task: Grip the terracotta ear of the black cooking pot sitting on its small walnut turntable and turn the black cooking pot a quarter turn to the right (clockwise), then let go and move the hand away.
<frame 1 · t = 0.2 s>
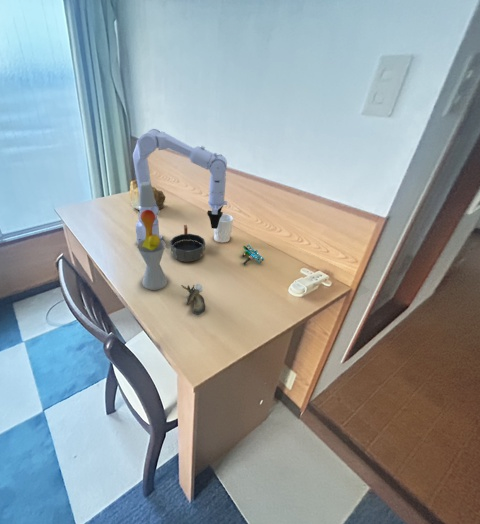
hand: (215, 223, 112), 10 cm above the table, tool pointing down, fingers open, 7 cm apart
rough brown rock: (150, 208, 152), on the table
stick construction toy: (248, 260, 108), on the table
turntable: (187, 255, 112), on the table
lava lamp: (154, 282, 98), on the table
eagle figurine: (193, 304, 88), on the table
white cup: (221, 239, 122), on the table
black cooking pot: (187, 242, 110), point 5 cm above the table, hinge at 0.0°
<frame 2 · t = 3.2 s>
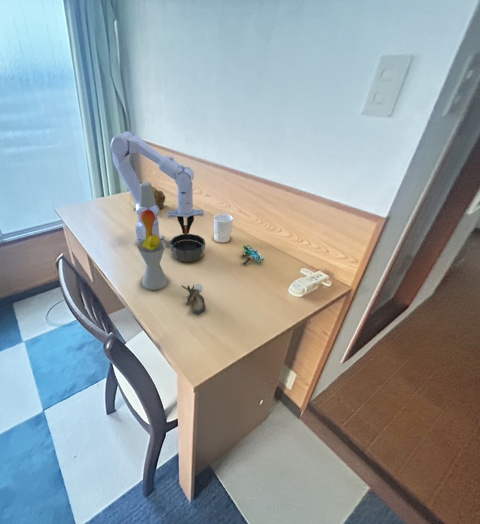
hand: (185, 232, 116), 6 cm above the table, tool pointing down, fingers closed on black cooking pot
black cooking pot: (187, 242, 110), point 5 cm above the table, hinge at 0.0°, touching gripper
everything else where it was.
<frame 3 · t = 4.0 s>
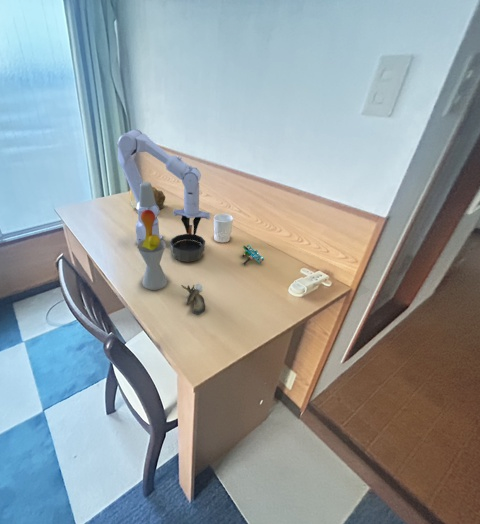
hand: (191, 233, 115), 6 cm above the table, tool pointing down, fingers closed
black cooking pot: (188, 242, 110), point 5 cm above the table, hinge at -14.0°, touching gripper
everything else where it was.
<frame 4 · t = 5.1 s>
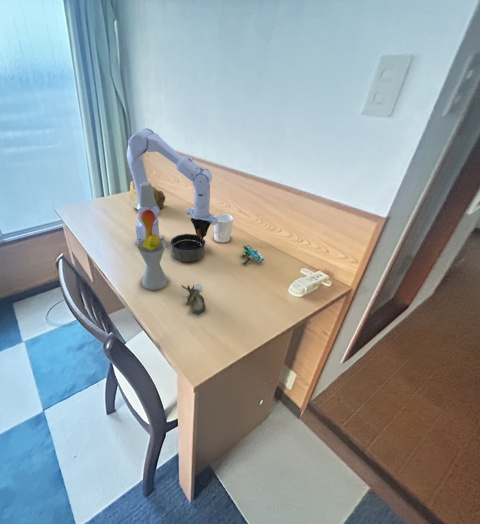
hand: (201, 235, 113), 6 cm above the table, tool pointing down, fingers closed
black cooking pot: (189, 243, 110), point 5 cm above the table, hinge at -45.1°, touching gripper
everything else where it was.
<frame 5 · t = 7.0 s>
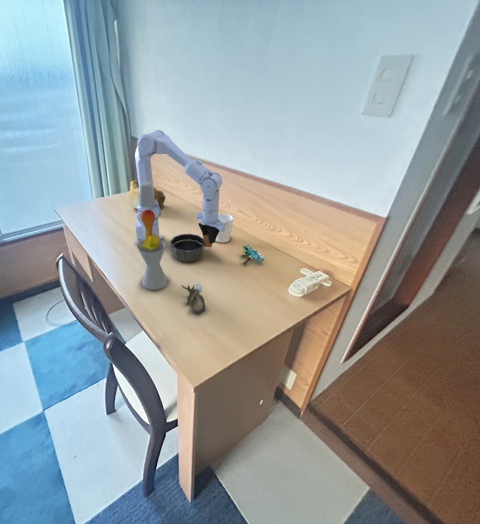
hand: (209, 241, 109), 6 cm above the table, tool pointing down, fingers open, 3 cm apart
black cooking pot: (191, 244, 109), point 5 cm above the table, hinge at -89.7°, touching gripper
everything else where it was.
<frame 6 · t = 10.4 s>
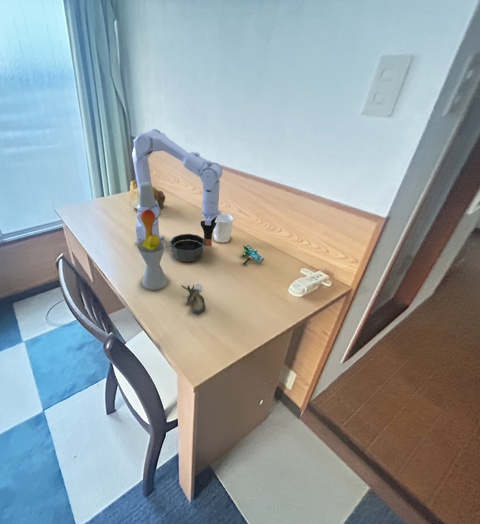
hand: (209, 234, 107), 9 cm above the table, tool pointing down, fingers open, 7 cm apart
black cooking pot: (191, 244, 109), point 5 cm above the table, hinge at -86.1°
everything else where it was.
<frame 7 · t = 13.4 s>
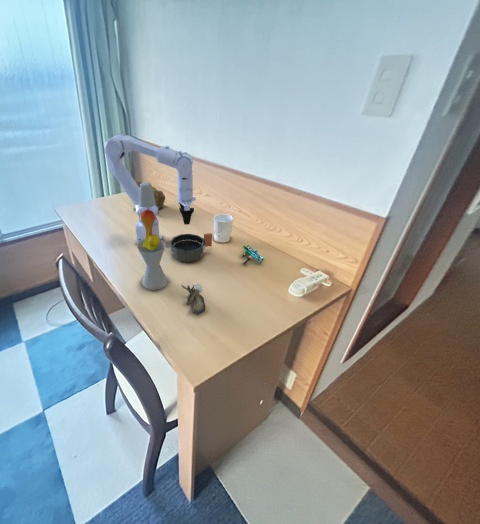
hand: (185, 220, 115), 10 cm above the table, tool pointing down, fingers open, 7 cm apart
nothing on the table moved.
at the end: black cooking pot at -86° (first picture: +0°); the gripper is holding nothing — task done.
